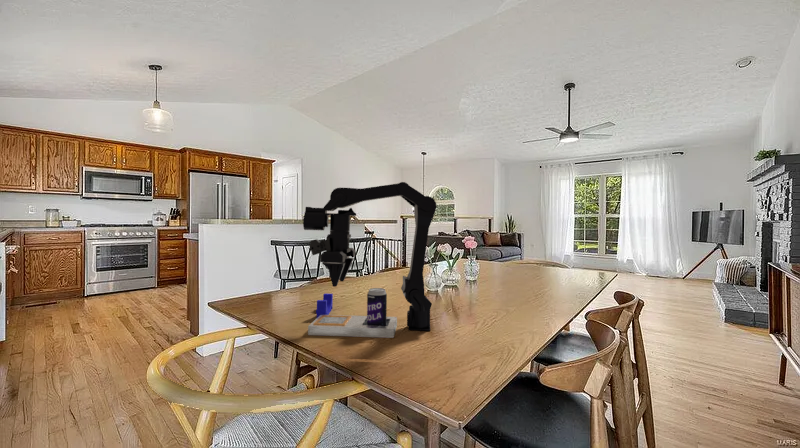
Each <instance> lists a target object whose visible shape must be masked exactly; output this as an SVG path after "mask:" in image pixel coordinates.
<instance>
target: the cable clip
mask: <svg viewBox="0 0 800 448" xmlns="http://www.w3.org/2000/svg"><path fill="white" fill-rule="evenodd" d="M333 295H334V294H333V293H324V294H323V296H322V297H323V298H322V299H321V300H320V299H317V300H316V310H315V313H316V319H317V318H318V317H319V316H320V315H330V313H331V312H332V310H333V304H334V303H333Z"/></svg>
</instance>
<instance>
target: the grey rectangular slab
mask: <svg viewBox="0 0 800 448" xmlns="http://www.w3.org/2000/svg"><path fill="white" fill-rule="evenodd" d="M397 326H398V316H386V326H369V325H367V315H350V314H349V315H347V314H344V315H343V314H329V315H320V316H319V317H318V318H317V317H316V318H315V319H314V320H313V321H312V322H311V323H310V324H309V325H308V326H307V335H308V336H327V337H330V336H331V337H355V338H357V337H358V338H359V337H361V338H385V339H386V338H388V339H392V338H393V339H394V337H395V334H396V330H397Z"/></svg>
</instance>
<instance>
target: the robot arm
mask: <svg viewBox="0 0 800 448" xmlns="http://www.w3.org/2000/svg"><path fill="white" fill-rule="evenodd" d="M394 197H401V198H402V199H403V200H404V201H405V202H407V203H408V204H409V205H411V206H412V208H413V210H414V211H413V212H414V213H413V214H414V223H415V229H414V235H413V242H412V250H411V257H410V259H411V260H410V266H409V271H408V274H407V275H406V276H405V275H402V285H401V287H400V290H401V291H402V295H403V297H404V299H405V300H406V301H407V303H409V304H410V305H409V306H408V308H409V309H408V310H407V313H406V315H407V316H406V326H407V327H408V328H407V329H408V331H431V308H432V305H433V304H432V302H431V300H430V299H429V298H428V297H427V296H426V294H425V282H424V268H425V267H424V266H425V261H426V260H425V259H426V253H427V246H428V245H427V244H428V236H429V230H430V225H431V223H432V221H433V219H434V216H435V212H436V210H437V202H436V200H435V199H434V198H433V197H432V196H429V195H425V194H423V193H422V192H420V191H418V190H417V189H415V188H414V187H412V186H410V184H408V183H407V182H406V181H401V182H398V183H391V184H385V185H379V186H371V187H364V188H363V187H362V188H357V187H356V188H354V187H353V188H352V187H337V188H334V189H333V190H331V192H330V196H329V200H328V202H327V203H326V204H324V206H323V207H311V206H305V212H304V215H303V218H302V221H303V222H302V223H303V225H302V226H303V229H304V231H325V229H326V228H328V227H329V234H327V235H326V239H324V240H321V241H320V240H319V239H318V238H316V239H313V240H311V241H310V244H309V245H308V246H309V248H308V250H309V251H310V252H311V255H312V256H315V255H318V254H320V255H319V257H320V258H319V262H320V263H321V264H322V265H323V266H325V267H326V268H327V269H328V273H329V276H330V280H331V281H330V282H331V284H332V285H331V286H332V287H334V288H336V287H337V286H338V284H339V282H342V283H343V282H344V281H345V279H346V277H347V274H348V272H349V271H350V270H349V269H350V267H351V265H352V263H353V261H354V259H355V257H356V250H355V248H353V247H350V239H351V238H352V234H351V230H350V229H351V227H350V226H351V217H357V213H356V212H355V211H354V210H353V208H352V207H351V206H354V205H357V204H360V203H363V202H367V201H368V202H369V201H374V200H381V199H387V198H388V199H389V198H394ZM348 207H350V208H349V209H344V208H348ZM337 209H338V210H337ZM342 209H343V210H342ZM336 210H337V212H334V211H336ZM332 212H334V213H332ZM329 216H330V218H329ZM329 219H330V220H329Z"/></svg>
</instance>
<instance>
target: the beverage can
mask: <svg viewBox="0 0 800 448" xmlns="http://www.w3.org/2000/svg"><path fill="white" fill-rule="evenodd" d="M386 291H387V290H386V288H383V287H382V288H381V287H373V288H369V289H368V292H367V294H366V295H367V296H366V299H367V300H366V306H367V307H366V316H367V325H369V326H386V317H387V313H388V311H387V305H388V304H387V301H388V300H387V299H388V298H387V296H388V295H387V292H386Z"/></svg>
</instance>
